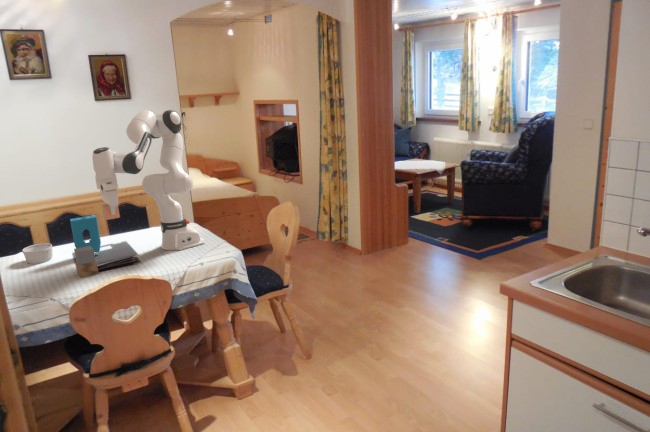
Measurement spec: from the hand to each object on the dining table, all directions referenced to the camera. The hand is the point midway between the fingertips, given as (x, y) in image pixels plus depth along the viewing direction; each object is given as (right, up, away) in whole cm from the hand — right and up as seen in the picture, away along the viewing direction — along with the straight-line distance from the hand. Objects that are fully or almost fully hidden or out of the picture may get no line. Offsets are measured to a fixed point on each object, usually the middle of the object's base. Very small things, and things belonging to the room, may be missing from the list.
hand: (111, 212), depth 238 cm
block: (-21, -22, +24) cm, 39 cm away
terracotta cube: (0, -2, 0) cm, 2 cm away
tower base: (-11, -28, -1) cm, 30 cm away
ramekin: (-45, -24, +21) cm, 55 cm away
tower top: (-11, -22, -2) cm, 25 cm away
